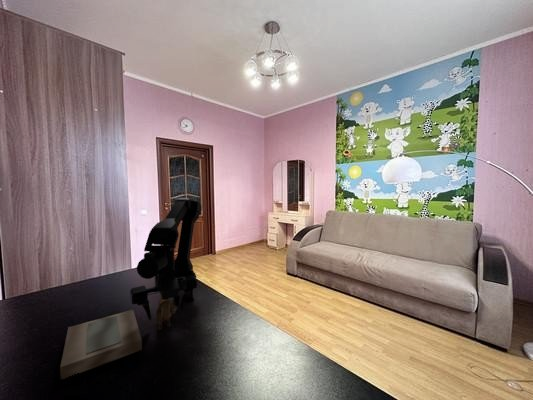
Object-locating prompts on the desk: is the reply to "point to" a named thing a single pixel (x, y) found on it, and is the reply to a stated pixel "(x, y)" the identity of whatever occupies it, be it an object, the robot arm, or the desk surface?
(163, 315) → the lion figurine
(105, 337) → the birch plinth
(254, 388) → the desk surface
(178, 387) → the desk surface
